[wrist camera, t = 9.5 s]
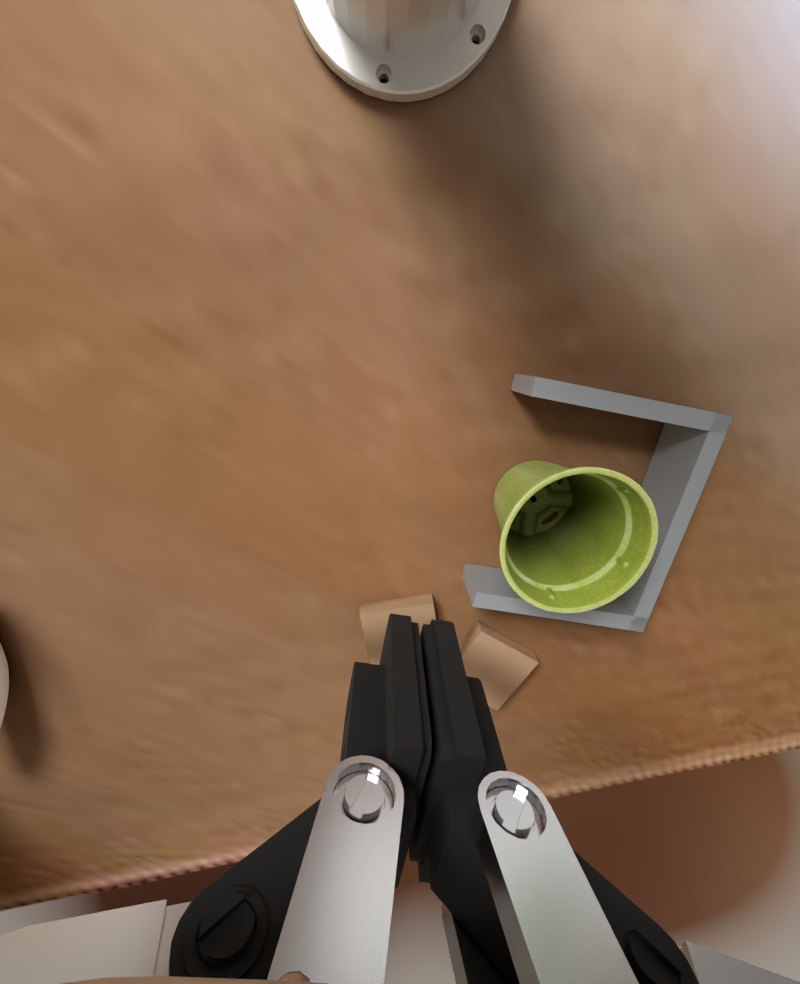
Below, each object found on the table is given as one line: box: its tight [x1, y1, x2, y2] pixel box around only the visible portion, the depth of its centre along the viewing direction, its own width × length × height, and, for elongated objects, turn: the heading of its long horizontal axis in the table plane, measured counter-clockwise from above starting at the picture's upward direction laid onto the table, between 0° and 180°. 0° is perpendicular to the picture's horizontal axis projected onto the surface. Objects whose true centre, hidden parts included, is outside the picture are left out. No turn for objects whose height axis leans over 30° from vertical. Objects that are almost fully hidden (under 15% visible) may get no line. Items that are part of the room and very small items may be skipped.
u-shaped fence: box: [462, 373, 734, 632], centre depth 31 cm, size 16×13×4 cm
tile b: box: [459, 620, 539, 711], centre depth 38 cm, size 6×6×2 cm
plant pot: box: [494, 460, 658, 613], centre depth 29 cm, size 9×9×9 cm
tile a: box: [359, 593, 436, 665], centre depth 36 cm, size 6×6×2 cm
